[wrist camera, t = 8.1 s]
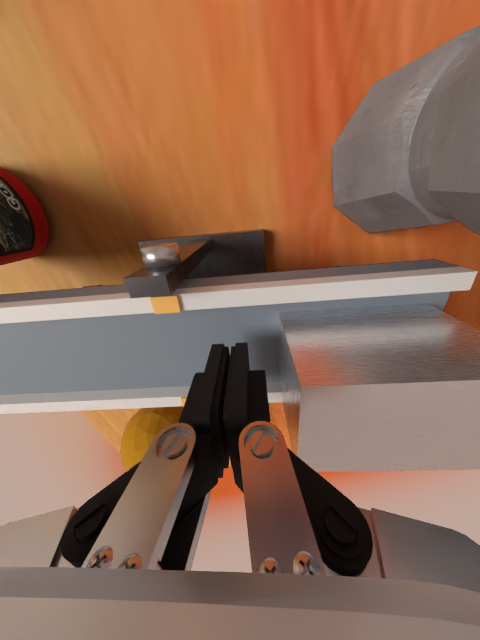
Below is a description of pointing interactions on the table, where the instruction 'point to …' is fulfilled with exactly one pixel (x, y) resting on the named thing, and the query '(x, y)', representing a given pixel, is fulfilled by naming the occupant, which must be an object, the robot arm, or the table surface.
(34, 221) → the beverage can
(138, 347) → the beam
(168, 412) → the apple
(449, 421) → the rider
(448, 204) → the coffeepot
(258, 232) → the stand
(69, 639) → the robot arm
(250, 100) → the table surface
